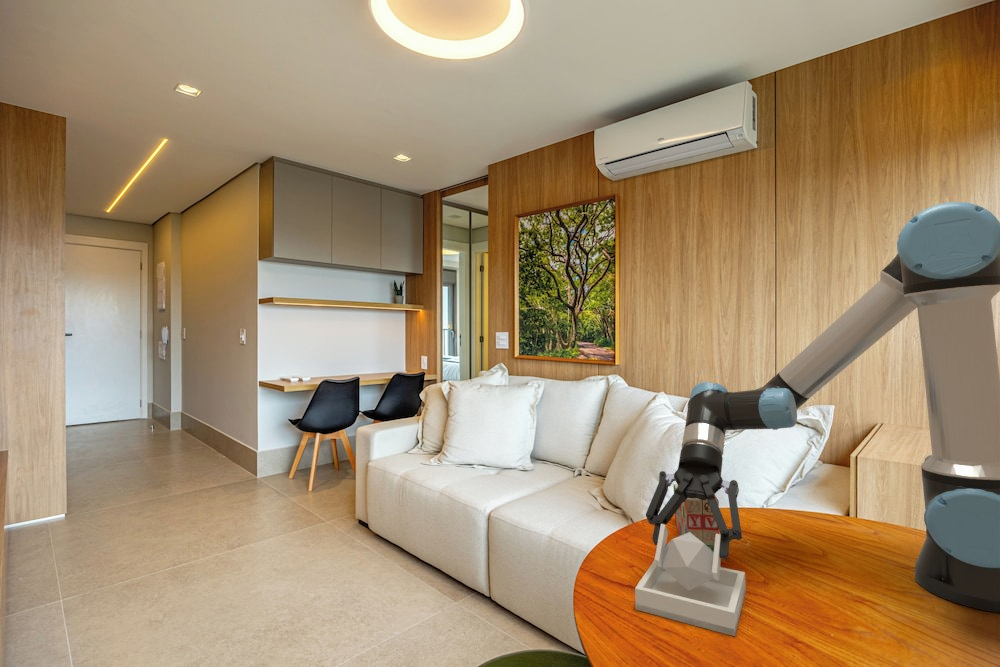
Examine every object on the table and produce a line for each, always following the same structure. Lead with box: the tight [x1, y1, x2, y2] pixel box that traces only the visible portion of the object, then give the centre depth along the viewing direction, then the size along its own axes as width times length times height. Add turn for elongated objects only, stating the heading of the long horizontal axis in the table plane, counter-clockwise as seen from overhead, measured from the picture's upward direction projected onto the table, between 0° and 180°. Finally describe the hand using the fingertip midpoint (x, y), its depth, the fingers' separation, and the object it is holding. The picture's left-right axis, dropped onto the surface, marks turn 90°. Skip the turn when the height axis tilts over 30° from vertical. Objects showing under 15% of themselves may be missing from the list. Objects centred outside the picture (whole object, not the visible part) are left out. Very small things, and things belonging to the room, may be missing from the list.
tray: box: [634, 559, 746, 637], centre depth 85 cm, size 15×15×4 cm
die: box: [663, 532, 714, 591], centre depth 86 cm, size 8×9×10 cm
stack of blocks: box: [673, 483, 720, 552], centre depth 111 cm, size 21×6×12 cm, turn 168°
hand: (686, 569), depth 82 cm, fingers closed on die, 8 cm apart
